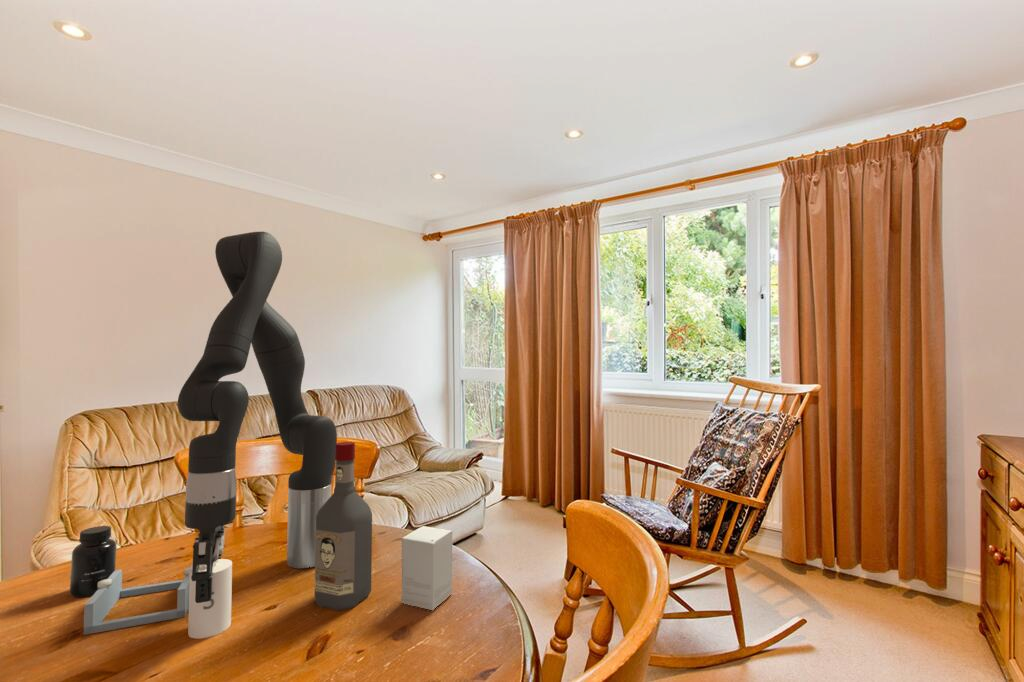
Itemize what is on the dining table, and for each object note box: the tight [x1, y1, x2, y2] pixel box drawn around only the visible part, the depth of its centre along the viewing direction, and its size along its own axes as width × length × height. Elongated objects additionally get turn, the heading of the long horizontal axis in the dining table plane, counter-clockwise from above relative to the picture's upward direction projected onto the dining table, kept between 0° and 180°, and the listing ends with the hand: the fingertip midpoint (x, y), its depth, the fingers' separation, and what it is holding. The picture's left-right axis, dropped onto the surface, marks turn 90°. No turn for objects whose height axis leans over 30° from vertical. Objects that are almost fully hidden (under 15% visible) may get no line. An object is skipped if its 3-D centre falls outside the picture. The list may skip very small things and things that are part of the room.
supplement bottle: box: [69, 525, 118, 598], centre depth 96 cm, size 7×7×12 cm
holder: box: [83, 562, 193, 636], centre depth 90 cm, size 15×14×6 cm
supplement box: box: [401, 525, 454, 610], centre depth 93 cm, size 7×7×13 cm
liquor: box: [314, 441, 373, 611], centre depth 94 cm, size 9×9×30 cm
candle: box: [187, 558, 233, 640], centre depth 83 cm, size 6×6×15 cm
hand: (208, 589), depth 83 cm, fingers open, 8 cm apart
